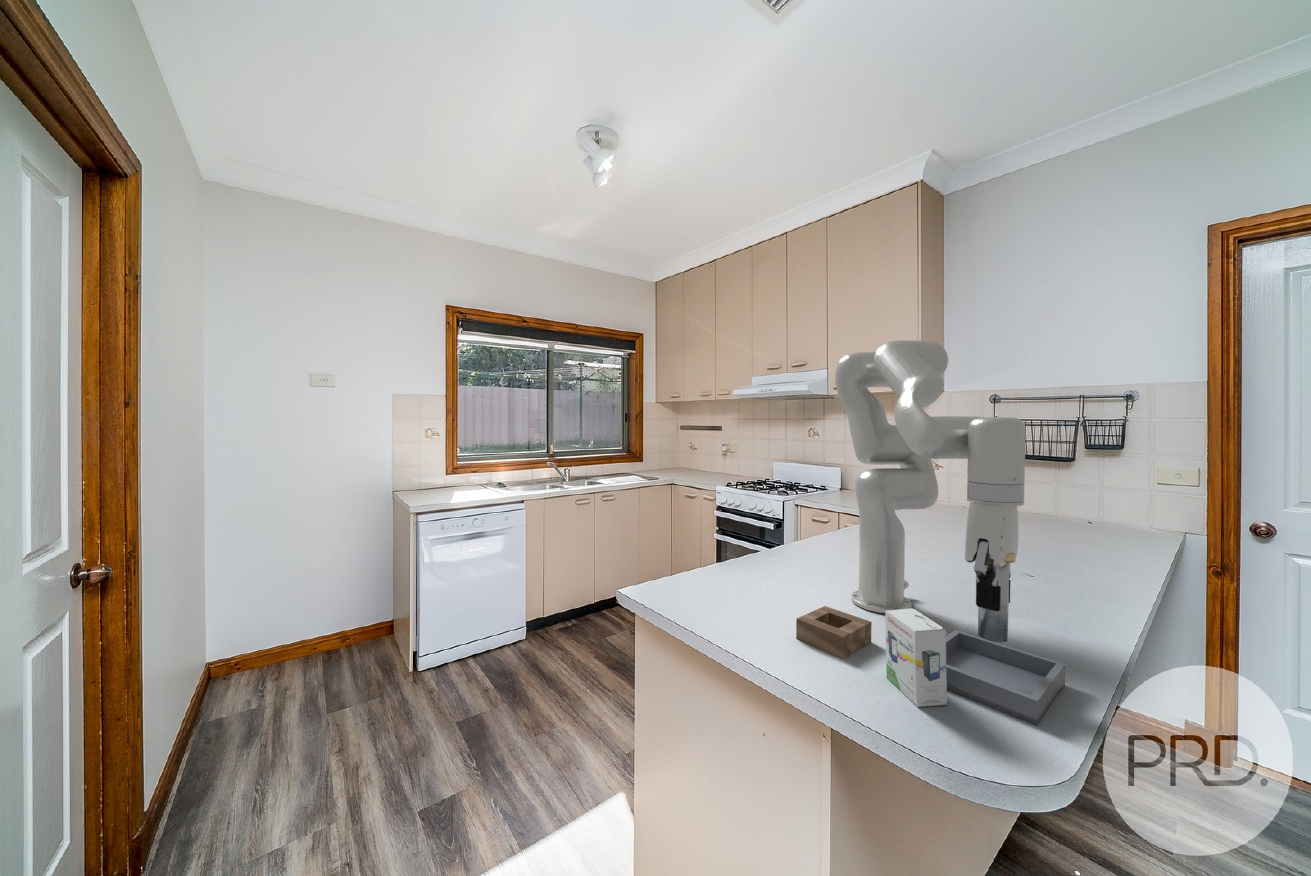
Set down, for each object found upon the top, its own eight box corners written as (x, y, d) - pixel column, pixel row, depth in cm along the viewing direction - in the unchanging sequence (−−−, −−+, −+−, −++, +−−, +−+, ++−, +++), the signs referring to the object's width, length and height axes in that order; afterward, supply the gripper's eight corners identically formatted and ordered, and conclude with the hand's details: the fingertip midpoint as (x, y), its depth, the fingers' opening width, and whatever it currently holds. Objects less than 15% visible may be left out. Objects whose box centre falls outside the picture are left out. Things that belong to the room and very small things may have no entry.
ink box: (948, 706, 71) (949, 629, 71) (915, 708, 71) (916, 631, 70) (912, 675, 80) (913, 606, 79) (883, 677, 79) (884, 607, 79)
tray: (954, 647, 89) (955, 629, 89) (1064, 685, 77) (1065, 664, 77) (917, 676, 79) (917, 656, 79) (1036, 725, 67) (1037, 701, 67)
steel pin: (979, 626, 81) (980, 545, 81) (1018, 637, 77) (1020, 552, 76) (966, 635, 78) (968, 551, 77) (1007, 648, 73) (1009, 558, 73)
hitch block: (824, 624, 99) (824, 605, 99) (871, 642, 92) (871, 621, 91) (796, 638, 93) (796, 618, 93) (843, 658, 85) (843, 636, 85)
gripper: (986, 486, 85) (984, 587, 85) (948, 495, 74) (947, 610, 75) (1038, 491, 79) (1036, 599, 79) (1005, 502, 68) (1003, 626, 69)
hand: (993, 603), depth 77 cm, fingers closed on steel pin, 4 cm apart
